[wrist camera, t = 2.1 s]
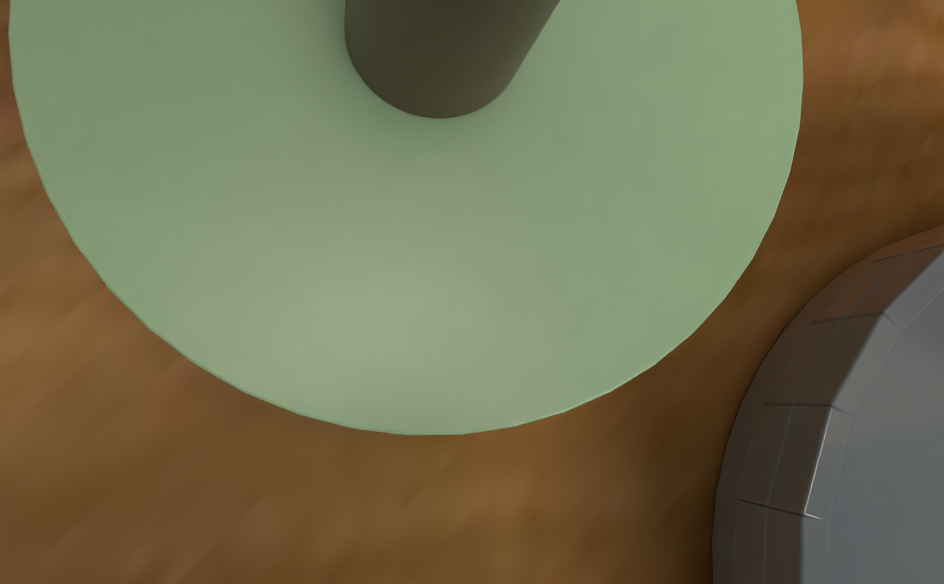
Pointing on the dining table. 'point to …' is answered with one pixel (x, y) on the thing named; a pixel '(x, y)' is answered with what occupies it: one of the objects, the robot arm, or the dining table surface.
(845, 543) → the pan
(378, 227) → the lid
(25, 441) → the dining table surface
